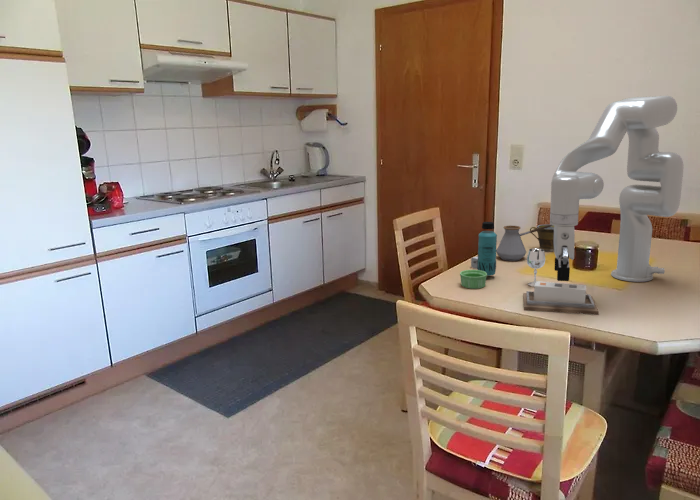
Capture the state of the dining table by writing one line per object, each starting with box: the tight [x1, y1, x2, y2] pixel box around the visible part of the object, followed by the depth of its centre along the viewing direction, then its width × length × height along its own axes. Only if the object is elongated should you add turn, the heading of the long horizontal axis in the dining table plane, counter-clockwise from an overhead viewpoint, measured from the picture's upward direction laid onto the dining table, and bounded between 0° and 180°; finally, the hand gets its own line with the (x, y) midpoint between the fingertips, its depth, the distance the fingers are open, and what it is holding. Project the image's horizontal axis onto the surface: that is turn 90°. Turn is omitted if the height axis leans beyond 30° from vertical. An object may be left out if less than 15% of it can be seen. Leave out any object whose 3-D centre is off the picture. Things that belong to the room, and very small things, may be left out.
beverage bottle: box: [476, 221, 498, 277], centre depth 183 cm, size 6×7×20 cm
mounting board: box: [522, 290, 600, 316], centre depth 155 cm, size 20×13×2 cm, turn 73°
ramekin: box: [459, 269, 488, 290], centre depth 176 cm, size 9×9×4 cm
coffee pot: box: [496, 224, 553, 262], centre depth 204 cm, size 21×12×15 cm, turn 56°
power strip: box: [533, 280, 587, 304], centre depth 155 cm, size 14×5×5 cm, turn 65°
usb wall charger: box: [470, 256, 478, 270], centre depth 198 cm, size 4×7×4 cm, turn 119°
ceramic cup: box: [529, 223, 554, 253], centre depth 218 cm, size 13×10×10 cm
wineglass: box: [526, 247, 546, 287], centre depth 173 cm, size 6×6×12 cm
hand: (561, 275), depth 154 cm, fingers open, 9 cm apart
